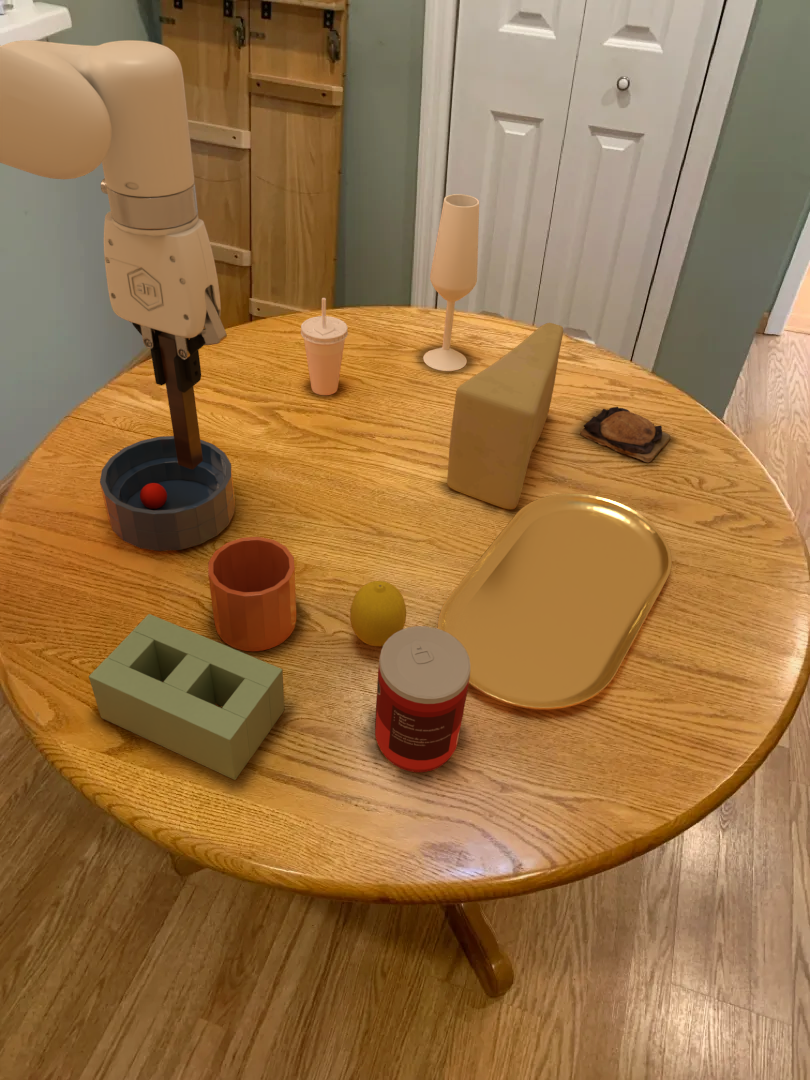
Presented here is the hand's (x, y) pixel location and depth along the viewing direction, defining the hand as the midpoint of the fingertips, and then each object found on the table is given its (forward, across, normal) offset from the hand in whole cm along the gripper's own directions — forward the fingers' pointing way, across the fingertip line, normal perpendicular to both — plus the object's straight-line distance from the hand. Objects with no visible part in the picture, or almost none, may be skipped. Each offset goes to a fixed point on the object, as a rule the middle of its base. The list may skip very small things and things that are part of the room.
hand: (178, 381), depth 87 cm
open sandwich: (+18, +42, +41) cm, 61 cm away
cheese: (+18, +29, +29) cm, 45 cm away
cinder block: (+18, +16, -24) cm, 34 cm away
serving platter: (+18, +42, +7) cm, 46 cm away
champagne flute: (+18, +12, +48) cm, 52 cm away
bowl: (+18, -2, -2) cm, 18 cm away
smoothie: (+18, 0, +31) cm, 36 cm away
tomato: (+16, -4, -2) cm, 16 cm away
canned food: (+18, +36, -17) cm, 44 cm away
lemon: (+18, +27, -8) cm, 34 cm away
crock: (+18, +15, -12) cm, 26 cm away
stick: (+11, 0, 0) cm, 11 cm away
